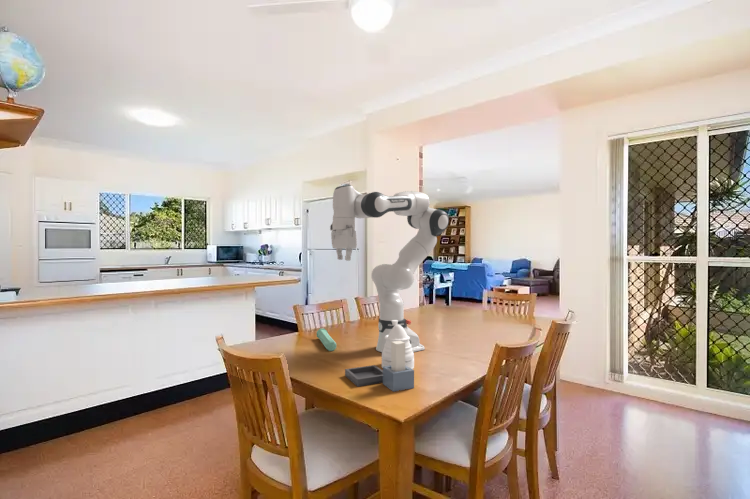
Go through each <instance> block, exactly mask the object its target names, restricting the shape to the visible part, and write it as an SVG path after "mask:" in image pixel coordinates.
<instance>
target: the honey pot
mask: <svg viewBox="0 0 750 499" xmlns="http://www.w3.org/2000/svg"><path fill="white" fill-rule="evenodd" d="M397 323H398V320H392V324H393V325H395V326H394V327H393V328H392V330H391V331H390V333H389V335H386V336H385V339H386V343H385V345H384V349H383V352H381V368H382V369H383V367H384V366H391V342H394V341H402V342H404V343H405V365H406V366H407V367H409V368H411V369H413V370H414V369H415V354H414V352H413V351H412V348H411V347H412V346H411V344H410V341H409V339H410V337H409V336H408V335H407V334H406V332H405V330H404V328H403V327H402V326H401V325H398V324H397Z"/></svg>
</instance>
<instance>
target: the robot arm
mask: <svg viewBox="0 0 750 499" xmlns="http://www.w3.org/2000/svg"><path fill="white" fill-rule="evenodd" d="M430 203H431V201H430V198H429V196H428V194H426V193H424V192H420V191H413V190H411V191H409V190H407V191H406V190H405V191H400V192H396V193H395V194H393V195H389V196H388V195H385V194H384V193H382V192H378V191H372V192H368V193H361V192H359V191H357V190H356V189H355V188H354V186H353V185H351V184H345V185H339V186H337V187H336V188H334V190H333V195H332V210H333V215H332V223H331V224H330V226H329V230H330V231H331V234H330V237H331V246H332V248H333V249H335V250H336V256H337V260H340V261H341V260H343V259H344V260H345V261H346V262H347V261H348V262H349V261H351V256H352V253H353V250H356V249H357V244H358V243H357V242H358V241H357V231H356V230H355V228H356V224H355V223H356V222H355V221H356V219H369V218H374V219H375V218H380V217H382V216H384V215H386V214H387V213H389V212H393V213H394V214H395V215H397V216H403V217H406V218H407V221H406V222H407V223H408V225H409V226H410V227H411V228H413V229H415V230H418V231H417V233H416V235H415V236H413V237H412V238H411V239H410V240H409V241H408V242H407V243H406V244H405V245H404V246H403V248H401V249H400V250H399V252H398V258H397V259H396V261H395V262H394V263H392V264H388V263H383V264H379V265H376V266H375V267H374V268H373V269H372V271H371V279H372V282H373V283H374V285H375V287H376V292H377V296H378V303H379V318H378V324H377V325H378V337H377V344H376V348H375V350H376V351H378V352H380V353H382V352H383V349H384V345H385V343H386V339H385V336H386V335H389V333H390V331H391V330H392V328H393V327H394V326H395V325H393V324H392V320H398V323H397V324H398V325H401V326H402V327H403V328H404V330H405V332H406V334H407V335H408V336H409V337H410V339H409V341H410V344H411V346H412V347H411V348H412V351H413V353H414V352H420V351H425V346H424V345H423V344H421V343H420V337H419V335H418V334H417V333H416V332H415V331H414V330H413V329H411V328H410V327H409V326H408V325H411V324H412V321H411V320H410V319H405V318H404V317H405V316H404V314H405V313H404V312H405V309H404V308H405V303H404V300H403V298H402V297H401V294H400V291H403V290H408V289H409V288H411V287H412V286H413V283H414V280H415V276H414V274H415V272H416V270H417V269H418V268H419V266H420V265H421V264H422V263H423V262H424V260H425V259H426V258H427V257H428V256H429V255H430V253H431V252H432V251H433V250H434V248H435V246H436V245H437V242H438V238H437V237H439V236H441V235H443V233H444V232H445V231H446V229H447V228H448V226H449V223H450V216H449V214H448V213H447V212H446V211H444V210H442V209H437V208H432V207H430V205H431V204H430ZM343 249H345V256H344V255H343V253H342V251H343ZM343 256H344V258H343Z"/></svg>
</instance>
